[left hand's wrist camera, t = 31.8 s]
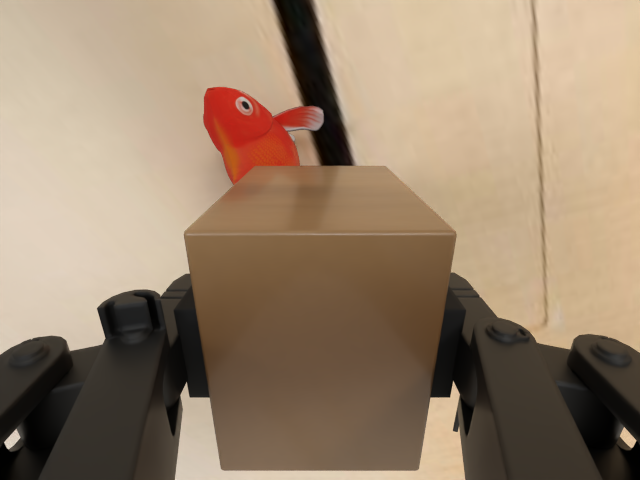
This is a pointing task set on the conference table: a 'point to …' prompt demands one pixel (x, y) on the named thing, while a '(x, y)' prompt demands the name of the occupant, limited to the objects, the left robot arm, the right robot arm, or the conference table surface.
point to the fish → (254, 130)
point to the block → (320, 317)
